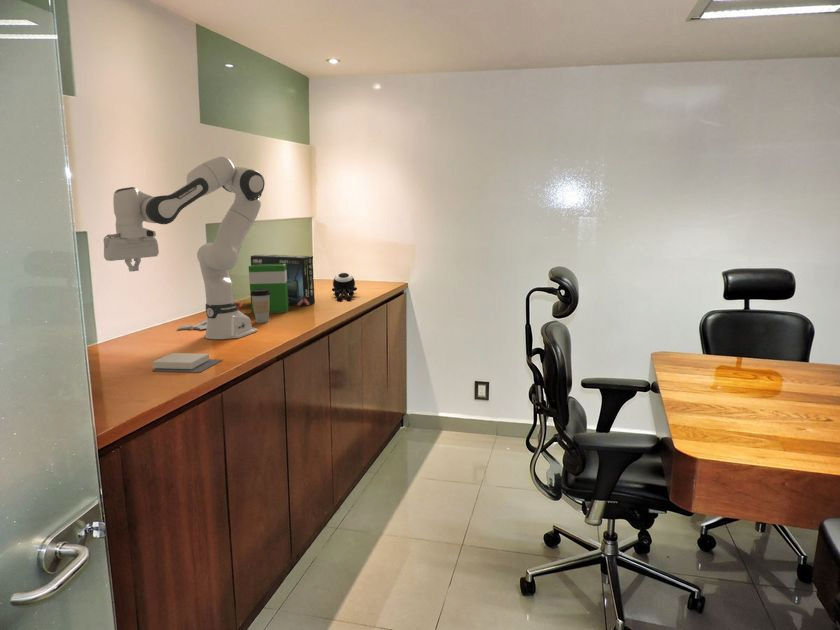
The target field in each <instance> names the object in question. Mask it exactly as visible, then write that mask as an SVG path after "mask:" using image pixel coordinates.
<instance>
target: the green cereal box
mask: <svg viewBox="0 0 840 630" xmlns="http://www.w3.org/2000/svg"><path fill="white" fill-rule="evenodd" d="M248 277H249V291H250V293H251V292H252V290H257V289H268V290H269V292H271V294H270V298H269V300H270V307H269V314H272V313H274V314H275V313H288V311H289V310H290V309H289V306H290V305H288V288H287V270H286V264H264V265H251V264H250V265H248ZM250 293H249V294H250ZM250 309H251V310H250V311H251V314H255V313H254V309H253V304H252V296H251V295H250Z"/></svg>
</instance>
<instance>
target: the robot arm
mask: <svg viewBox="0 0 840 630" xmlns="http://www.w3.org/2000/svg"><path fill="white" fill-rule="evenodd" d="M265 184H266V183H265V177H264V176H263V175H262V174H261V173H260V172H259V171H257V170H255V169H251V168H247V167H243V166H241V167H240V166H234V164H233V162H232V161H231V160H230V159H229V158H227V157H225V156H218V157H215V158H212V159H209V160H207V161H205V162H202V163H201V164H199V165H197V166H196V167H194V168H193V169H192V170H191V171H189V172H188V173H187V175H186V184H185V185H183V186H182V187H180V188H179V189H177V190H175V191H174V192H173V193H170V194H168V195H166V194H165V195H157V196H152V195H149V194H147V193H145V192H143V191H141V190H140V189H138V188H137V187H134V186H130V187H123V188H118V189H117V190H115V191H114V193H113V198H112V199H113V201H112V202H113V213H114V216H115V232H116V233H113V234H111V233H110V234H109V233H108V234H106V235H105V236H104V237H103V258H104V260H105V261H107V262H114V261H124V263H125V264H126V266H127V267H128V271H129V272H131V273H132V272H139V271H140V269H139V268H140V267H139V266H140V264H141V263H142V262H141V261H142V260H141V259H143V258H154V257H158V255H159V253H160V252H159V251H160V250H159V244H158V241H157V239H156V236H157V233H156V231H155V230H152V229H149V228H146V227H144V225H143V222H146V223H149V224H150V223H151V224H160V225H168V224H171V223H173V222H174V221H175V220H176V218H177V217H178V215H179V214H180V212H182V211H183V209H184V208H186V207H188V206H189V205H191V204H192V203H194V202H195V201H196V200H198V199H199V198H201V197H204V196H207V195H209V194H211V193H214V192H216V191H218V190H219V189H221V188H223V189H224V190H225V191H226V192H229V193H233V194H235V195H234V200H233V203H232V204H231V206H230V208H229V209H228V210H227V212H226V214H225V216H224V217H223V218H222V220H221V222H220V224H219V226H218V231H217V233H216V236H215V239H214V240H213V242H207V243H205V244H203V245H201V246H200V247H199V248H198V250H197V253H196V257H197V260H198V262H199V266H200V271H201V274H202V275H201V276H202V279H203V283H204V292H205V300H206V301H205V302H206V303H205V312H206V320H207V324H206V325H207V327H206V329H205V335H204V337H205V338H206V339H208V340H228V339H240V338H243V337H245V336H248V335H250V334H253V333H256V332H258V328H256V327H252V322H251V318H250V317H249V316H248V315H246V314H244V313H243V312H242V311H240V310H239V308H241V307H243V303H242V301H237V302H235V298H234V297H235V294H234V284H233V283H234V282H233V281H232V279H231V276H230V273H229V270H231V269H233V268H234V267H235V266H236V265H237V263H238V258H239V257H238V256H239V253H240V250H241V248H242V245H243V242H244V240H245V238H246V236H247V234H248V233H249V231H250V229H251V227H253V225H254V222H255V221H256V219H257V217H258V215H259V212H260V209H261V207H262V206H261V205H262V203H261V200H260V198H261V196H262V195H263V194H262V193H263V191H264V189H265ZM133 261H134V264H132V262H133Z"/></svg>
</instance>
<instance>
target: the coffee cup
mask: <svg viewBox="0 0 840 630" xmlns="http://www.w3.org/2000/svg"><path fill="white" fill-rule="evenodd" d="M270 294H271V292H269V290H268V289H257V290H252V292H251V293H249V295H250V297H251V296H252V304H253V309H254V313H253V314H254V317H255V323H257V324H264V323H269V320H270V313H269V307H270V300H269V298H270Z"/></svg>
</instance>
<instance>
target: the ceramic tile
mask: <svg viewBox="0 0 840 630" xmlns="http://www.w3.org/2000/svg"><path fill="white" fill-rule="evenodd" d="M209 359H210V353H194V352H193V353H186V352H182V353H181V352H171V353H170V354H169V353H168V354H167V355H164V356H163V357H160V358H158V359H156V360H153V361H152V369H193V368H195V367H197V366H199V365H201V364H203V363H205V362H207V361H208V360H209Z"/></svg>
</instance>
